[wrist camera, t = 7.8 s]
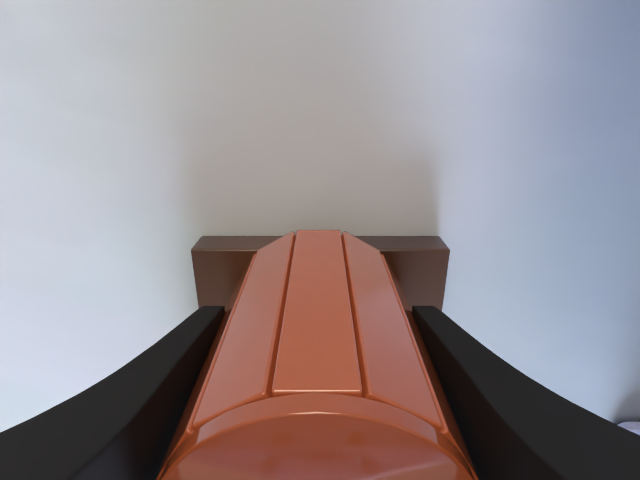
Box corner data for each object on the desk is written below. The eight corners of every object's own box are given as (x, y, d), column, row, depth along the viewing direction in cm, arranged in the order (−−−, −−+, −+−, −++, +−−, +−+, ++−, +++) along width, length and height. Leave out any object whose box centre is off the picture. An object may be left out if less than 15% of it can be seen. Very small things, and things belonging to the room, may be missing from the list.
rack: (439, 235, 13) (548, 373, 7) (405, 513, 18) (449, 736, 12) (200, 235, 13) (92, 373, 7) (235, 513, 18) (190, 735, 12)
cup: (406, 229, 12) (517, 413, 5) (394, 371, 14) (462, 633, 7) (229, 229, 12) (116, 413, 5) (242, 371, 14) (172, 633, 7)
